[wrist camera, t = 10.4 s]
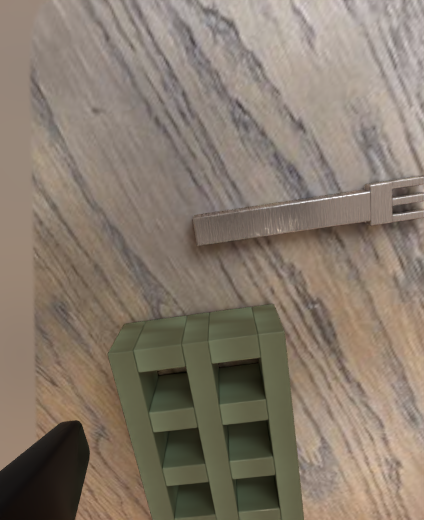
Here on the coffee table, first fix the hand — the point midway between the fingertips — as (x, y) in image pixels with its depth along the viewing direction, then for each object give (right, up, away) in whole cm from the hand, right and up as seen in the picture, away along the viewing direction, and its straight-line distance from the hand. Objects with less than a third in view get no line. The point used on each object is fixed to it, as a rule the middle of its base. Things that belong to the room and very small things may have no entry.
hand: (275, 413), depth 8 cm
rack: (-1, -6, +15) cm, 17 cm away
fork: (-2, +5, +12) cm, 13 cm away
